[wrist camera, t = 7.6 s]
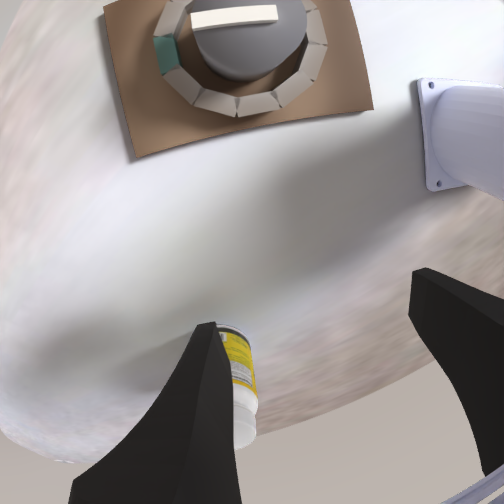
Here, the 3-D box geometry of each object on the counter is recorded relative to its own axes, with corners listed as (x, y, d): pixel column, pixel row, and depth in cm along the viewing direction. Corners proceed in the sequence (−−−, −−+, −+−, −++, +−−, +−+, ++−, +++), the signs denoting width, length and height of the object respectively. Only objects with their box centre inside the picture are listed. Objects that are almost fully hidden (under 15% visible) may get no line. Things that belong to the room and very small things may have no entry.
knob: (278, 7, 13) (300, -32, 8) (288, 78, 15) (317, 62, 10) (195, 15, 13) (184, -24, 8) (205, 88, 15) (196, 73, 10)
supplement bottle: (229, 373, 25) (234, 459, 17) (179, 352, 23) (169, 442, 16) (262, 337, 23) (278, 428, 16) (208, 312, 22) (206, 408, 14)
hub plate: (333, -31, 12) (347, -45, 10) (367, 109, 16) (386, 110, 14) (107, 10, 12) (93, -2, 10) (140, 156, 17) (128, 162, 14)
